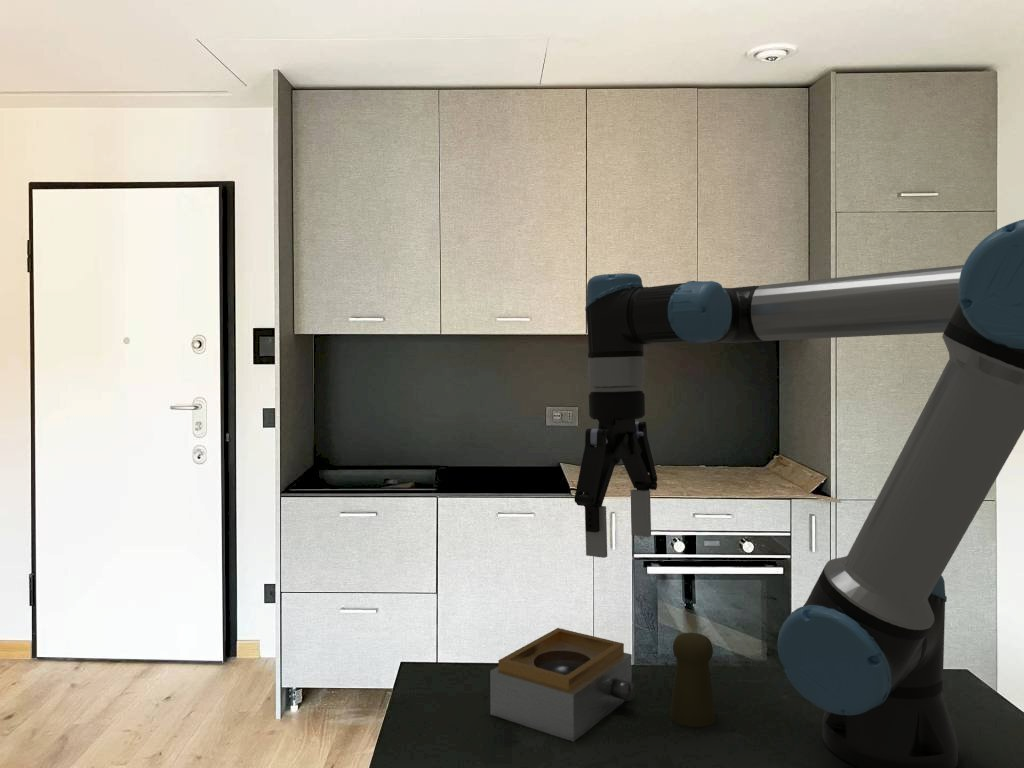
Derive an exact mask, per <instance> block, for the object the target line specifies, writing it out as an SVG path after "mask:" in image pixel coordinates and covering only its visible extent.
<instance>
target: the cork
mask: <svg viewBox="0 0 1024 768" xmlns="http://www.w3.org/2000/svg"><path fill="white" fill-rule="evenodd" d="M672 650H673V651H672V652H673V655H674V657H675V659H676V663H675V672H674V679H673V686H672V691H671V692H672V693H671V699H670V700H671V701H670V707H669V713H668V714H669V718H670V719H671V720H672V722H674V723H676V724H679V725H681V726H684V727H689V728H705V727H708V726H711V725H713V724H714V723H715V722H716V713H715V705H714V697H713V688H712V682H711V681H712V680H711V672H710V666H709V665H710V664H709V662H710V661H711V659H712V658H713V653H714V648H713V643H712V641H711V639H710V638H709V637H708V636H706V635H704V634H701V633H697V632H685V633H684V632H683V633H680V634H678V635H677V636H676V637H675V638H674V640H673V643H672Z"/></svg>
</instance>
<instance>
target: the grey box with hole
mask: <svg viewBox="0 0 1024 768" xmlns="http://www.w3.org/2000/svg"><path fill="white" fill-rule="evenodd" d="M632 655H633V654H631V653H628V652H625V644H624V643H622V642H621V641H620V642H618V641H614V640H611V639H606V638H603V637H597V636H594V635H591V634H590V635H589V634H586V633H581V632H578V631H577V632H576V631H573V630H569V629H565V628H559V627H557V628H555V629H553V630H551V631H549V632H547V633H545V634H544V635H542V636H541V637H539V638H537V639H535V640H533V641H531V642H529V643H527V644H526V645H524V646H522V647H520V648H518V649H516V650H515V651H513V652H511V653H509V654H507V655H506V656H504V657H502V658H500V659H499V660H498V666H496V667H494V668H492V669H491V670H489V673H490V674H489V677H490V679H489V680H490V682H489V683H490V684H489V685H490V686H489V687H490V688H489V689H490V693H489V695H490V696H489V697H490V699H489V700H490V702H489V703H490V706H489V708H490V713H489V714H490V716H494V717H497V718H500V719H504V720H505V721H509V722H511V723H516V724H518V725H521V726H523V727H527V728H530V729H533V730H537V731H538V732H539V731H540V732H543V733H545V734H549V735H552V736H554V737H557V738H560V739H563V740H566V741H567V740H568V741H570V742H573V743H574V742H575V741H577V740H578V739H579V738H581V737H582V736H583V735H584V734H586V733H587V732H588V731H589V730H590V729H592V728H593V727H595V726H596V725H597V724H598V723H600V721H602V720H603V719H605V718H606V717H607V716H608V715H610V714H611V713H612V712H613V711H614V710H616V709H617V708H618V707H619V706H621V705H623V703H624V702H627V701H628V702H631V701H632V700H633V698H634V696H635V692H636V687H635V684H634V683H633V682H632V680H633V679H632V678H633V676H632V674H633V669H632V668H633V667H632V666H633V665H632V664H633V662H632V661H633V656H632Z"/></svg>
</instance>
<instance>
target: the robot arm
mask: <svg viewBox="0 0 1024 768" xmlns="http://www.w3.org/2000/svg"><path fill="white" fill-rule="evenodd" d="M584 312H585V314H586V315H585V317H586V328H587V343H588V344H587V345H588V346H587V347H588V353H587V358H588V361H587V362H588V365H587V367H586V372H588V387H590V388H591V389H592V391H590V393H588V413H589V414H588V415H589V417H590V418H591V419H592V420H597V421H598V426H597V428H586V429H585V435H584V436H585V437H584V438H585V439H584V450H583V455H582V460H581V463H580V469H579V474H578V479H577V484H576V489H575V493H574V502H575V503H576V505H577V506H578V507H579V506H580V507H582V506H583V507H584V522H585V523H584V524H585V525H584V526H585V527H584V530H585V556H587V557H595V558H601V559H603V558H604V559H605V558H607V557H608V535H607V534H608V530H607V527H608V526H607V525H608V524H607V522H608V520H607V506H605V505H603V503H604V501H605V497H606V494H607V490H608V488H609V485H610V482H611V479H612V476H613V472H614V470H615V466H617V464H619V463H620V462H621V461H622V463H623V466H624V468H625V470H626V473H627V476H628V478H629V479H630V482H631V484H632V486H633V488H634V489H631V490H630V523H631V524H630V526H631V528H630V530H631V536H636V537H643V538H644V537H646V538H650V537H652V517H651V516H652V515H651V513H652V510H651V491H652V490H653V491H655V490H657V488H658V476H657V471H656V467H655V464H654V459H653V454H652V450H651V446H650V442H649V439H648V428H647V427H648V425H647V422H646V421H636V420H638V419H639V420H640V419H642V418H644V417H645V415H646V406H645V405H646V400H645V394H646V393H644V391H643V390H641V387H644V386H645V382H646V381H645V357H644V347H645V345H651V344H653V345H654V344H656V345H657V344H715V343H717V344H719V343H721V344H729V345H733V344H739V345H741V344H747V343H754V342H755V343H757V342H770V341H771V342H772V341H789V340H790V341H792V340H810V339H811V340H812V339H833V338H857V337H859V338H860V337H873V336H874V337H875V336H876V337H879V336H896V335H897V336H899V335H902V336H903V335H919V334H920V335H921V334H941V333H942V335H941V337H942V340H943V342H944V345H945V346H946V349H947V351H948V357H949V359H948V361H947V363H946V365H945V367H944V368H943V370H942V373H941V374H940V376H939V378H938V380H937V382H936V384H935V386H934V388H933V390H932V391H931V393H930V396H929V397H928V400H927V401H926V404H925V405H924V407H923V408H922V411H921V412H920V415H919V417H918V419H917V420H916V423H915V424H914V427H913V429H912V430H911V432H910V434H909V436H908V438H907V440H906V442H905V443H904V446H903V448H901V451H900V454H899V455H898V457H897V460H895V462H894V465H893V467H892V469H891V470H890V472H889V475H888V477H887V478H886V480H885V482H884V484H883V486H882V488H881V490H880V492H879V494H878V496H877V498H876V500H875V502H874V503H873V506H872V508H871V509H870V510H869V513H868V515H867V517H866V519H865V520H864V523H863V525H862V526H861V528H860V530H859V533H858V534H857V536H856V538H855V540H854V542H853V543H852V545H851V547H850V549H849V551H848V553H847V555H845V556H843V557H841V556H840V557H837V558H832V559H829V560H828V561H827V562H826V563H825V565H824V566H823V568H822V571H821V572H820V575H819V576H818V579H817V580H816V582H815V585H813V588H812V590H811V592H810V594H809V596H808V598H807V599H806V601H805V603H804V605H802V606H800V607H798V608H796V609H795V610H793V611H791V613H790V614H789V615H787V617H786V619H785V621H784V622H783V623H782V626H781V627H780V629H779V632H778V637H777V652H778V653H777V654H778V659H779V661H780V663H781V664H782V667H783V669H784V674H785V676H786V677H787V679H788V681H789V682H790V684H791V685H792V686H793V688H794V689H795V690H796V691H797V693H799V694H800V695H801V696H802V697H804V699H805V700H807V701H809V702H810V703H811V704H812V705H813V706H815V707H818V708H819V709H821V710H823V711H824V712H823V716H822V724H821V725H822V726H821V727H822V728H821V729H822V730H821V733H822V740H823V743H824V744H825V746H826V747H827V748H828V749H829V750H830V751H831V752H832V753H833V754H834V755H836V756H837V757H838V758H840V759H842V760H844V761H845V762H847V763H849V764H851V765H853V766H856V767H857V768H957V766H958V763H959V742H958V738H957V735H956V732H955V729H954V725H953V723H952V719H951V716H950V713H949V710H948V707H947V704H946V701H945V698H944V694H943V693H944V691H943V689H944V688H943V687H944V659H945V657H944V655H945V622H946V621H945V619H946V615H945V614H946V603H947V601H948V600H947V599H948V598H947V595H946V584H945V579H944V577H943V576H942V574H943V573H944V571H945V569H946V567H947V566H948V565H949V562H950V561H951V559H952V557H953V556H954V553H955V552H956V550H957V549H958V546H959V544H960V543H961V541H962V539H963V537H964V536H965V534H966V533H967V531H968V529H969V528H970V525H971V524H972V522H973V520H974V518H975V516H976V515H977V513H978V512H979V509H980V508H981V506H982V504H983V503H984V501H985V499H986V497H987V495H988V494H989V492H990V490H991V488H992V487H993V485H994V483H995V482H996V480H997V478H998V476H999V475H1000V473H1001V471H1002V469H1003V467H1004V466H1005V464H1006V462H1007V460H1008V459H1009V457H1010V455H1011V453H1012V452H1013V450H1014V448H1015V446H1016V445H1017V443H1018V441H1019V440H1020V437H1021V436H1022V434H1023V432H1024V219H1019V220H1016V221H1015V222H1011V223H1008V224H1006V225H1004V226H1002V227H1000V228H998V229H996V230H995V231H993V232H991V233H989V235H987V236H986V237H985V238H983V239H982V240H981V241H980V242H979V243H978V244H977V245H976V246H975V247H974V248H973V249H972V251H971V252H970V254H969V256H968V257H967V259H966V260H965V262H964V264H960V265H949V266H942V267H941V266H939V267H931V268H921V269H911V270H900V271H891V272H890V271H889V272H880V273H872V274H871V273H870V274H861V275H851V276H841V277H832V278H822V279H821V278H820V279H812V280H811V279H810V280H801V281H791V282H781V283H771V284H770V283H769V284H761V285H748V286H738V287H723V285H722V284H721V283H720V282H718V281H713V280H708V281H707V280H706V281H698V280H697V281H696V280H688V281H686V282H682V283H673V284H662V285H656V286H644V285H643V280H642V277H641V276H640V275H638V274H637V273H636V274H635V273H629V272H628V273H625V272H624V273H619V272H618V273H608V274H598V275H594V276H592V277H591V278H590V279H589V280H588V282H587V285H586V305H585V311H584Z"/></svg>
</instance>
